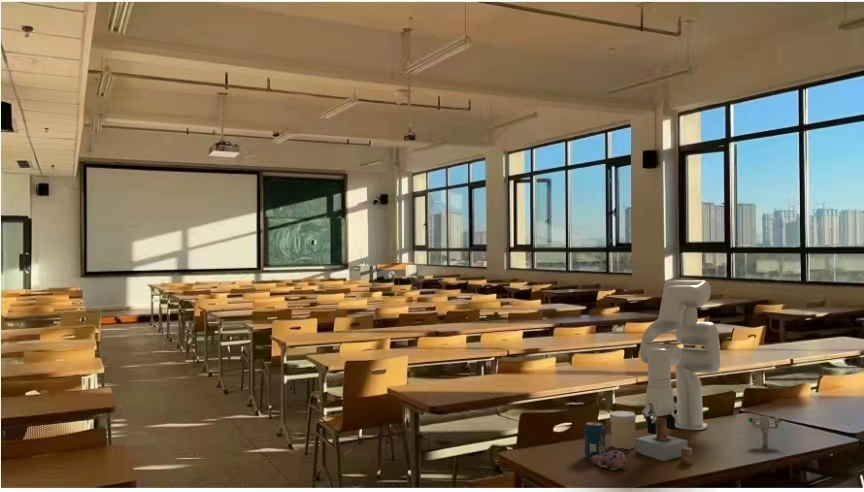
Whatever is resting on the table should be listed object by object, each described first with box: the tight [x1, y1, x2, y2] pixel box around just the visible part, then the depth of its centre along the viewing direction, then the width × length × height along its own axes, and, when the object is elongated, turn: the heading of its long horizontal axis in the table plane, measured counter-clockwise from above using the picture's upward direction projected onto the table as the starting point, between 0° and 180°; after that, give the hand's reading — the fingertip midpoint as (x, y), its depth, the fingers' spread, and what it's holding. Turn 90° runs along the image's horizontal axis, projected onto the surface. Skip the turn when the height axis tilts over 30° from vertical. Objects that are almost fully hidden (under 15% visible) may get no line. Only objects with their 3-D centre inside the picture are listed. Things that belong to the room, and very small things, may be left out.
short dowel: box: [680, 446, 694, 466], centre depth 218 cm, size 4×4×5 cm
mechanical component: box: [748, 415, 781, 447], centre depth 236 cm, size 3×10×10 cm, turn 78°
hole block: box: [635, 434, 689, 462], centre depth 229 cm, size 12×12×5 cm
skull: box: [591, 449, 628, 471], centre depth 217 cm, size 12×8×6 cm, turn 39°
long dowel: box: [655, 417, 668, 442], centre depth 229 cm, size 4×4×12 cm
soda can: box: [583, 420, 606, 460], centre depth 227 cm, size 7×7×12 cm
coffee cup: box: [609, 410, 637, 450], centre depth 239 cm, size 9×9×12 cm
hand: (661, 431), depth 229 cm, fingers open, 9 cm apart
